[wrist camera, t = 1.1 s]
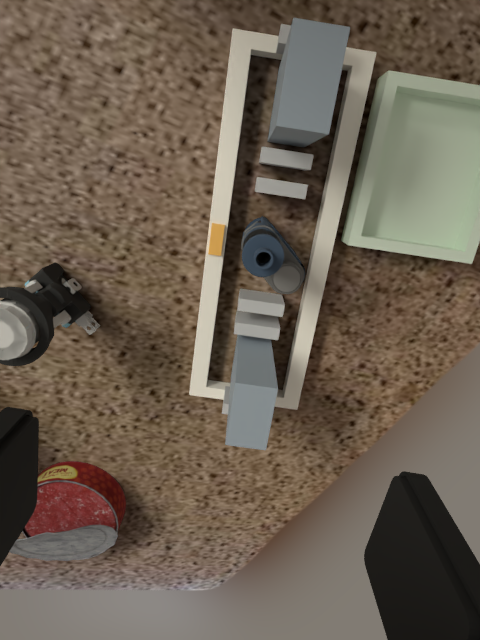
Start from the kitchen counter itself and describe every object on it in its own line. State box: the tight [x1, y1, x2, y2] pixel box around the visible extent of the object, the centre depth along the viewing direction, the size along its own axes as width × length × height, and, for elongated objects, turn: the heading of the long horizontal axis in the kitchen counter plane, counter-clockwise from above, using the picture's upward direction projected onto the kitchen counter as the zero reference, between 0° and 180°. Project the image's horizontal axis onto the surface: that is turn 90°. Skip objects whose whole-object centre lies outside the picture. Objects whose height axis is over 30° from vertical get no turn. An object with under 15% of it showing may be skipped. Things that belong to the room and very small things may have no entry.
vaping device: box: [241, 216, 305, 294], centre depth 28 cm, size 3×5×12 cm, turn 39°
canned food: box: [9, 461, 126, 561], centre depth 40 cm, size 11×10×10 cm
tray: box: [341, 70, 480, 264], centre depth 30 cm, size 12×10×2 cm
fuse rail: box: [189, 18, 377, 450], centre depth 29 cm, size 28×10×10 cm, turn 172°
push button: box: [0, 263, 100, 366], centre depth 30 cm, size 7×5×10 cm
